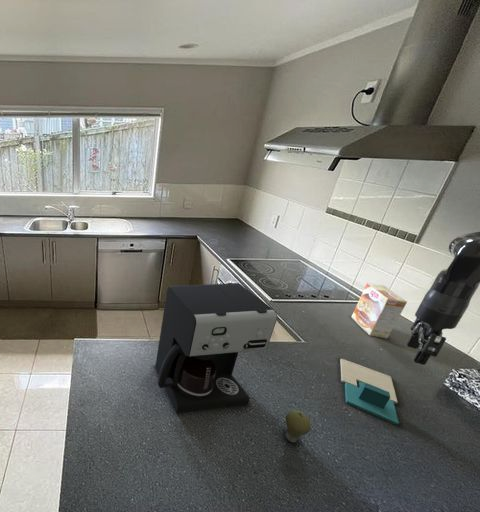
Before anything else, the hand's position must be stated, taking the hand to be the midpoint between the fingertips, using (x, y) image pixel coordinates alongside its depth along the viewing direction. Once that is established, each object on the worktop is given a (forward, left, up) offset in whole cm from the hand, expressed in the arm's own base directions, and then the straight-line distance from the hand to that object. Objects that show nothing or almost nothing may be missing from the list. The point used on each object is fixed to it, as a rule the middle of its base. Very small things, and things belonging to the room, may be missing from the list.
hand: (415, 354), depth 81 cm
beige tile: (+4, -11, -22) cm, 24 cm away
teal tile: (+4, 0, -21) cm, 22 cm away
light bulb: (+23, +32, -22) cm, 45 cm away
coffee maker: (+51, +32, -22) cm, 64 cm away
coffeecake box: (0, -55, -22) cm, 59 cm away
